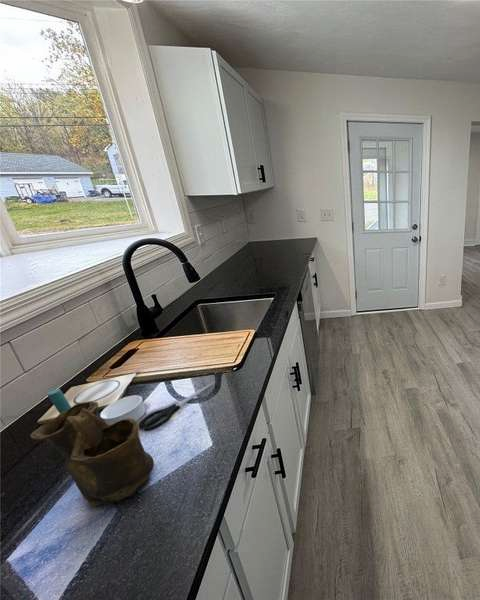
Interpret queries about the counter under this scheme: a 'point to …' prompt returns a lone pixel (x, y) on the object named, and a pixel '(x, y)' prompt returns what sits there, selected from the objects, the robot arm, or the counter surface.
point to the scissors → (166, 412)
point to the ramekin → (124, 410)
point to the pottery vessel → (99, 453)
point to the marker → (59, 400)
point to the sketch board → (93, 394)
